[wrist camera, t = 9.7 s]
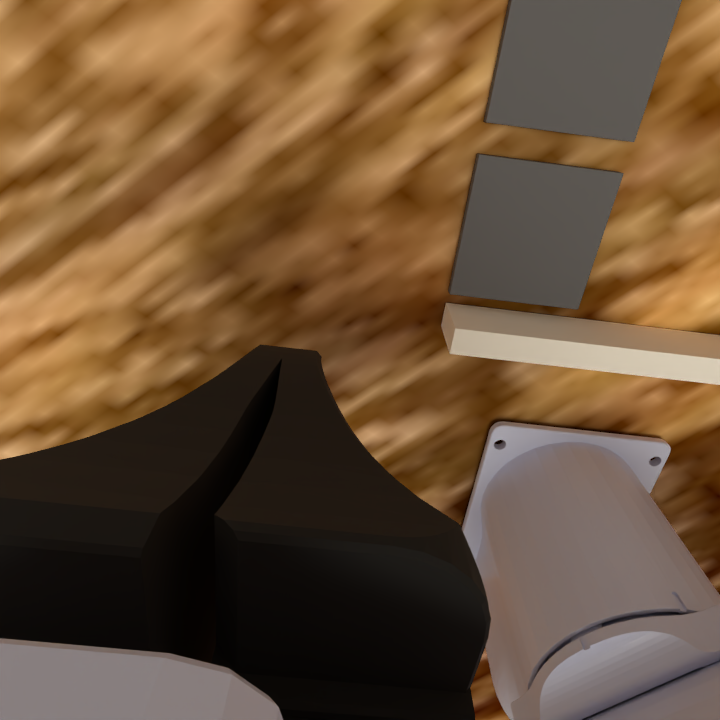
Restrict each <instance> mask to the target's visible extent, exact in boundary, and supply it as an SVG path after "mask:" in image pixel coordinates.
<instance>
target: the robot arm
mask: <svg viewBox="0 0 720 720" xmlns="http://www.w3.org/2000/svg"><path fill="white" fill-rule="evenodd" d="M498 440H503V442H502V443H501V444H494V443H495V442H496V441H498ZM670 451H671V448H670V446H669V445H668V443H667V442H666V441H665V440H663V439H660V438H651V437H642V436H632V435H623V434H614V433H605V432H596V431H587V430H578V429H568V428H559V427H550V426H541V425H532V424H523V423H514V422H504V421H502V422H497V423H495V424H494V425H492V426H491V428H490V431H489V434H488V438H487V441H486V445H485V448H484V452H483V455H482V459H481V462H480V466H479V469H478V473H477V476H476V480H475V483H474V487H473V490H472V494H471V497H470V501H469V505H468V508H467V512H466V515H465V519H464V522H463V526H462V528H461V526H460V525H459V524H458V523H457V522H455V521H454V520H452V519H451V518H449V517H448V516H446V515H445V514H443V513H442V512H440V511H438V510H437V509H435V508H434V507H432V506H431V505H429V504H428V503H426V502H425V501H423V500H422V499H420V498H419V497H417V496H416V495H415V494H414V493H412V492H411V491H410V490H409V489H407V488H406V487H405V486H404V485H402V484H401V483H400V482H399V481H397V480H396V479H395V478H394V477H393V476H392V475H391V474H389V473H388V472H387V471H386V470H385V469H384V468H383V467H382V466H381V465H380V464H379V463H378V462H377V461H376V460H375V459H374V458H373V457H372V456H371V454H370V453H369V452H368V451H367V450H366V448H365V447H364V446H363V445H362V443H361V442H360V441H359V439H358V438H357V437H356V435H355V434H354V433H353V431H352V430H351V428H350V427H349V425H348V423H347V422H346V420H345V418H344V417H343V415H342V413H341V411H340V410H339V408H338V406H337V404H336V402H335V400H334V398H333V396H332V393H331V391H330V389H329V387H328V384H327V381H326V379H325V376H324V372H323V369H322V364H321V356H320V354H319V353H318V352H317V351H312V350H303V349H294V348H285V347H277V346H268V345H259V346H258V347H256V348H255V349H253V350H252V351H251V352H249V353H248V354H247V355H245V356H244V357H243V358H241V359H240V360H239V361H237V362H236V363H234V364H233V365H232V366H230V367H229V368H228V369H226V370H225V371H223V372H222V373H220V374H219V375H218V376H216V377H215V378H213V379H212V380H210V381H208V382H207V383H205V384H203V385H202V386H200V387H198V388H197V389H195V390H193V391H192V392H190V393H189V394H187V395H185V396H184V397H182V398H180V399H178V400H176V401H174V402H172V403H171V404H169V405H167V406H165V407H163V408H160V409H158V410H156V411H154V412H152V413H150V414H147V415H145V416H143V417H141V418H138V419H136V420H134V421H131V422H128V423H126V424H123V425H120V426H117V427H115V428H112V429H109V430H107V431H104V432H101V433H98V434H96V435H93V436H90V437H87V438H84V439H80V440H77V441H74V442H70V443H67V444H64V445H60V446H56V447H53V448H49V449H45V450H41V451H37V452H33V453H29V454H25V455H21V456H16V457H12V458H7V459H2V460H0V720H475V713H474V707H473V701H472V696H471V690H470V687H471V684H472V681H473V679H474V676H475V673H476V670H477V668H478V665H479V662H480V659H481V657H482V654H483V651H484V648H485V647H486V652H487V657H488V661H489V666H490V671H491V676H492V680H493V685H494V688H495V691H496V694H497V697H498V699H499V701H500V703H501V705H502V707H503V709H504V711H505V712H506V714H507V716H508V717H509V718H510V720H720V595H719V594H718V592H717V591H716V589H715V588H714V586H713V585H712V583H711V582H710V581H709V579H708V578H707V576H706V575H705V573H704V572H703V571H702V569H701V568H700V566H699V565H698V563H697V562H696V561H695V559H694V558H693V556H692V555H691V553H690V552H689V550H688V549H687V548H686V546H685V545H684V543H683V542H682V540H681V539H680V538H679V536H678V535H677V533H676V532H675V530H674V529H673V528H672V526H671V525H670V523H669V522H668V520H667V519H666V517H665V516H664V515H663V513H662V512H661V510H660V509H659V507H658V506H657V505H656V503H655V502H654V500H653V499H652V497H651V496H650V493H651V491H652V489H653V487H654V485H655V483H656V481H657V479H658V476H659V474H660V472H661V470H662V468H663V466H664V464H665V462H666V460H667V458H668V456H669V454H670ZM653 457H656V458H655V459H654V460H651V461H650V459H651V458H653Z"/></svg>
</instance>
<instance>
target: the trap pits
mask: <svg viewBox="0 0 720 720" xmlns="http://www.w3.org/2000/svg"><path fill="white" fill-rule="evenodd" d="M681 1H682V0H509V2H508V7H507V12H506V17H505V22H504V26H503V31H502V36H501V41H500V46H499V50H498V55H497V60H496V65H495V70H494V74H493V79H492V84H491V89H490V94H489V98H488V103H487V108H486V113H485V118H484V122H488V123H495V124H503V125H510V126H518V127H525V128H533V129H540V130H548V131H555V132H562V133H570V134H577V135H585V136H592V137H600V138H607V139H615V140H622V141H630V142H634V141H635V138H636V135H637V132H638V129H639V126H640V123H641V120H642V117H643V114H644V111H645V108H646V105H647V102H648V99H649V96H650V93H651V90H652V87H653V84H654V81H655V78H656V75H657V72H658V69H659V66H660V63H661V60H662V57H663V54H664V51H665V48H666V45H667V42H668V39H669V36H670V33H671V30H672V27H673V25H674V22H675V19H676V16H677V13H678V10H679V7H680V4H681ZM622 177H623V173H620V172H615V171H607V170H600V169H592V168H585V167H577V166H569V165H562V164H554V163H546V162H539V161H531V160H523V159H516V158H508V157H501V156H493V155H485V154H478V153H477V156H476V161H475V165H474V170H473V175H472V180H471V185H470V189H469V194H468V199H467V204H466V209H465V213H464V218H463V223H462V228H461V233H460V237H459V242H458V247H457V252H456V257H455V261H454V266H453V271H452V276H451V281H450V285H449V290H448V291H449V293H450V294H453V295H461V296H469V297H478V298H486V299H494V300H503V301H511V302H520V303H528V304H536V305H545V306H553V307H562V308H570V309H578V308H579V305H580V302H581V299H582V296H583V293H584V290H585V287H586V284H587V281H588V278H589V275H590V272H591V269H592V266H593V263H594V260H595V257H596V254H597V251H598V248H599V245H600V242H601V239H602V236H603V233H604V230H605V227H606V224H607V221H608V218H609V215H610V212H611V209H612V206H613V204H614V201H615V198H616V195H617V192H618V189H619V186H620V183H621V180H622Z"/></svg>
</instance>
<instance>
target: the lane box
mask: <svg viewBox="0 0 720 720" xmlns="http://www.w3.org/2000/svg"><path fill="white" fill-rule="evenodd" d="M441 327H442V331H443V334H444V337H445V340H446V344H447V347H448V350H449V353H450V354H455V355H464V356H473V357H482V358H490V359H499V360H508V361H516V362H525V363H534V364H543V365H551V366H560V367H569V368H578V369H586V370H595V371H604V372H613V373H621V374H630V375H639V376H648V377H656V378H665V379H674V380H682V381H691V382H700V383H709V384H717V385H720V335H715V334H706V333H698V332H689V331H681V330H673V329H664V328H656V327H647V326H639V325H630V324H622V323H613V322H605V321H597V320H588V319H580V318H571V317H563V316H554V315H546V314H538V313H529V312H521V311H512V310H504V309H495V308H487V307H479V306H470V305H462V304H453V303H446V305H445V309H444V314H443V319H442V324H441Z"/></svg>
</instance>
